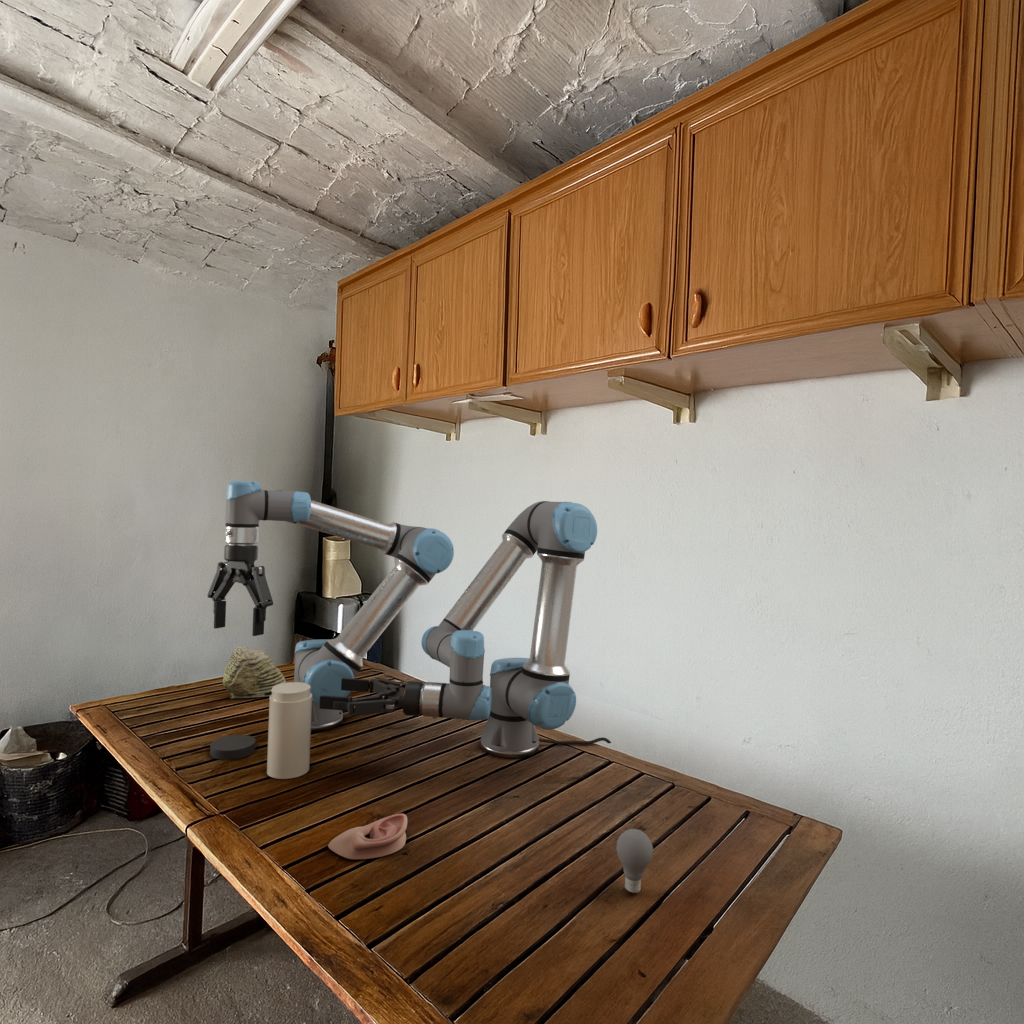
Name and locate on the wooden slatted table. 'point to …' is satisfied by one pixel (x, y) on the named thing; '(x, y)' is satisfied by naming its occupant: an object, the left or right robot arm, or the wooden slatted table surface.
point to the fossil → (251, 674)
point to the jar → (289, 730)
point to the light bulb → (634, 857)
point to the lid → (232, 747)
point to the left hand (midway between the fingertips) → (238, 631)
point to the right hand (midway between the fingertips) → (331, 692)
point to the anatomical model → (372, 839)
